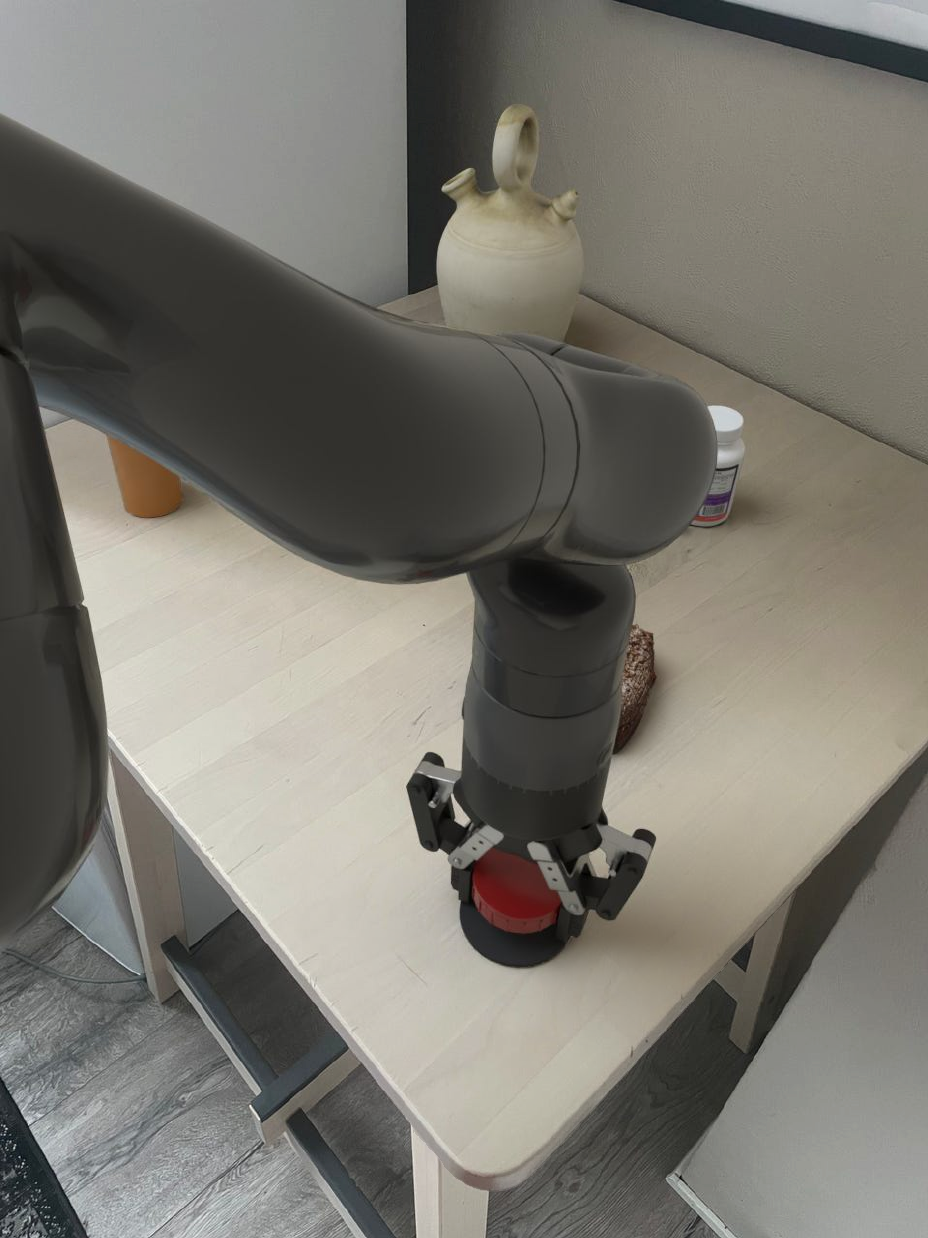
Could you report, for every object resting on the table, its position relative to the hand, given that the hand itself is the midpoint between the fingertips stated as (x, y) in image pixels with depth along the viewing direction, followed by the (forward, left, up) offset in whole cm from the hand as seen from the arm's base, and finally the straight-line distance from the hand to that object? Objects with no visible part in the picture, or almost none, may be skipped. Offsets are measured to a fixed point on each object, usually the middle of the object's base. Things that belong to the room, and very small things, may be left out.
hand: (517, 908), depth 62 cm
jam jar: (+25, +45, -1) cm, 51 cm away
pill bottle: (+45, 0, -1) cm, 45 cm away
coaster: (0, 0, -1) cm, 1 cm away
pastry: (+19, +3, -1) cm, 19 cm away
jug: (+65, +27, -1) cm, 70 cm away
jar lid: (0, 0, +3) cm, 3 cm away
